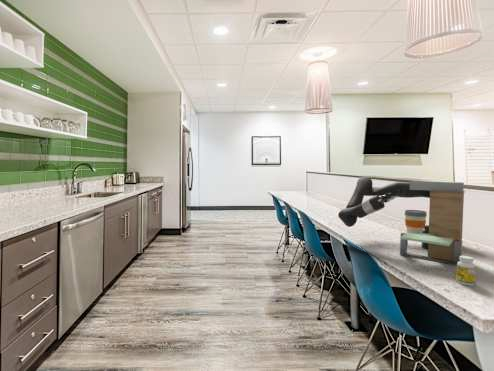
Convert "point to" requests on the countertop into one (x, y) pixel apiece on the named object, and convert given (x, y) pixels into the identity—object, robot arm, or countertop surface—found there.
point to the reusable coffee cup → (415, 221)
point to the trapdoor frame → (456, 257)
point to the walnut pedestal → (445, 221)
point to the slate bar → (437, 186)
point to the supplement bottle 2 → (466, 271)
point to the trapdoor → (427, 238)
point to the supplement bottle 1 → (426, 231)
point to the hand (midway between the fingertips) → (401, 190)
